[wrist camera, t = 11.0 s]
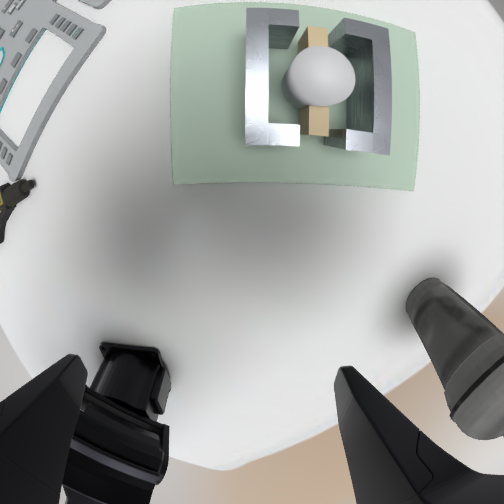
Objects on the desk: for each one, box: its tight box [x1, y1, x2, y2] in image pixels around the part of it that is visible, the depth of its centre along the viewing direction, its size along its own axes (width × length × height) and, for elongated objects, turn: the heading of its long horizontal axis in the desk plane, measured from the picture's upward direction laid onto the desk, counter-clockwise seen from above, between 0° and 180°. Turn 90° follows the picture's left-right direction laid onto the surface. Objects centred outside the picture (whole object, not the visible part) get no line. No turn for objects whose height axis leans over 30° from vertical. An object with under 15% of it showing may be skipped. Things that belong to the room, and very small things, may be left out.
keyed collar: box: [245, 8, 392, 156], centre depth 12 cm, size 7×7×4 cm
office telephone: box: [0, 0, 111, 182], centre depth 10 cm, size 23×3×20 cm
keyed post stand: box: [170, 2, 420, 191], centre depth 12 cm, size 16×12×5 cm
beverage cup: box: [406, 278, 504, 440], centre depth 12 cm, size 7×7×20 cm
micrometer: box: [0, 180, 34, 244], centre depth 17 cm, size 12×2×5 cm
